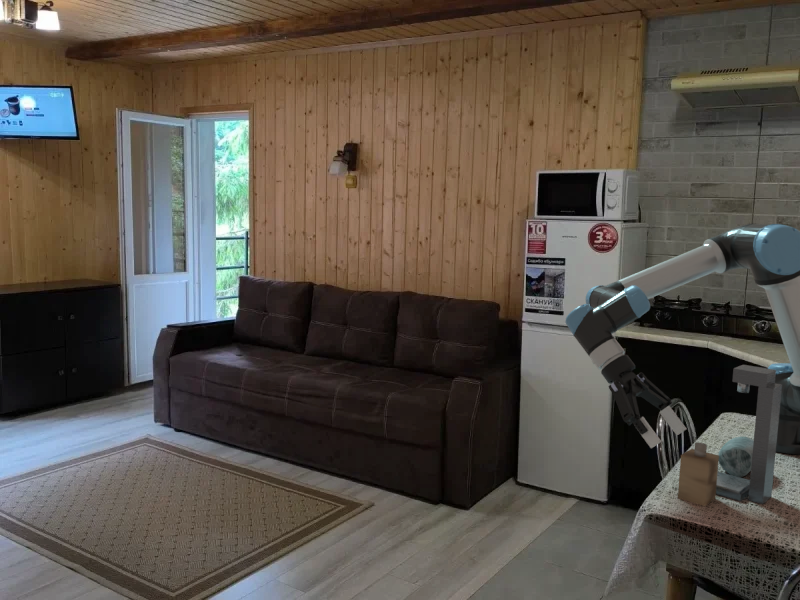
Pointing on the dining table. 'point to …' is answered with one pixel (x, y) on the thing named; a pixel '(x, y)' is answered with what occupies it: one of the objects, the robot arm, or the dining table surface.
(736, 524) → the dining table surface
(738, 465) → the blue grey streaked ovoid
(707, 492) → the brown bottle
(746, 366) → the press
